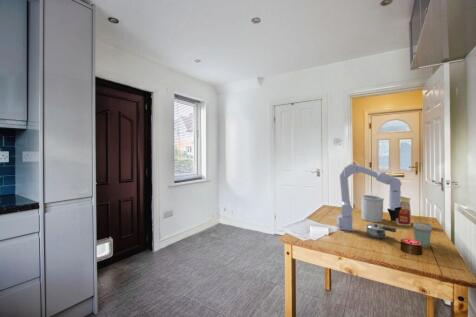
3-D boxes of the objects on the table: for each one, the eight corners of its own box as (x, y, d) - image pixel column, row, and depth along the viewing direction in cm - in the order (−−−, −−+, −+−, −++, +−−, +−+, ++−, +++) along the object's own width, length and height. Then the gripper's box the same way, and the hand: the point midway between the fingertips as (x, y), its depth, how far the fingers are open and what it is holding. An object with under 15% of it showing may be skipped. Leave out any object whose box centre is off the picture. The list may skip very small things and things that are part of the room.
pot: (362, 231, 151) (362, 224, 151) (379, 232, 149) (379, 224, 149) (373, 241, 134) (373, 233, 134) (392, 242, 133) (392, 234, 132)
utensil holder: (383, 218, 178) (383, 195, 177) (383, 223, 166) (383, 199, 165) (361, 215, 186) (362, 194, 185) (360, 220, 174) (360, 197, 173)
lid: (363, 227, 144) (363, 224, 144) (369, 223, 150) (369, 220, 150) (392, 234, 132) (392, 231, 132) (398, 230, 138) (398, 226, 138)
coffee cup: (433, 250, 122) (433, 227, 122) (413, 246, 127) (413, 225, 126) (430, 244, 130) (430, 223, 129) (411, 241, 134) (411, 220, 134)
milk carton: (397, 224, 163) (397, 196, 163) (394, 220, 172) (394, 194, 171) (412, 226, 160) (413, 197, 159) (408, 222, 168) (409, 195, 168)
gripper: (400, 200, 133) (400, 223, 134) (404, 196, 144) (404, 218, 144) (386, 198, 138) (386, 221, 139) (391, 195, 149) (391, 216, 149)
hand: (394, 219), depth 142 cm, fingers open, 7 cm apart
